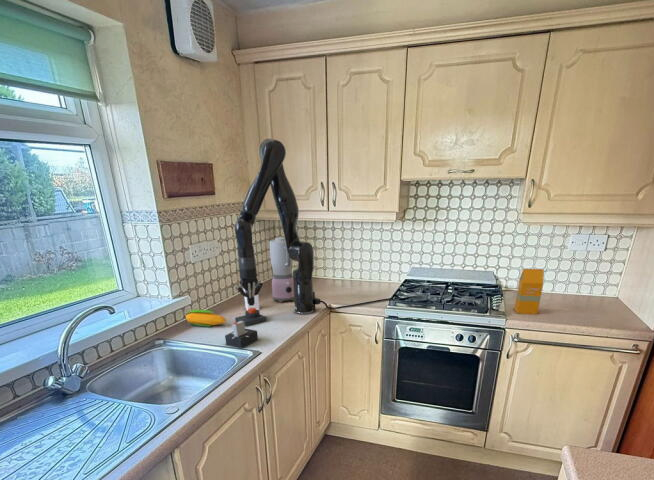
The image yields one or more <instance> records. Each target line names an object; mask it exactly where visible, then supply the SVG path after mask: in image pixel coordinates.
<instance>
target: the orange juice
mask: <svg viewBox="0 0 654 480" xmlns="http://www.w3.org/2000/svg"><path fill="white" fill-rule="evenodd" d="M543 287H544V269H543V268H523V269H522V272H521V274H520V277H519V280H518V286H517V291H516V297H515V303H514V308H513V309H514V310H515V312H516V314H525V315H538V312H539V306H540V302H541V297H542V291H543Z"/></svg>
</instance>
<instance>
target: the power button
mask: <svg viewBox="0 0 654 480" xmlns="http://www.w3.org/2000/svg"><path fill="white" fill-rule="evenodd" d="M248 313H256V308H249V309H248Z"/></svg>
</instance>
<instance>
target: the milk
mask: <svg viewBox="0 0 654 480" xmlns="http://www.w3.org/2000/svg"><path fill="white" fill-rule="evenodd" d="M242 288H243V287H242ZM242 290H243V291H244V292H245V289H244V288H243V289H242ZM245 293H246V292H245ZM243 298H244V305H245V307H244V308H245V309H246V311H248V309H249V308H256V310H259V311H260V310H261V308H260V299H259V294H258V295H255V297H254V301H255V304H254V305H252V306H250V305H249V304H248V301H247V297H244V296H243Z"/></svg>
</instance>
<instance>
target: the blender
mask: <svg viewBox="0 0 654 480" xmlns="http://www.w3.org/2000/svg"><path fill="white" fill-rule="evenodd" d="M269 257H270V264H271V268H272V272H273V273H272V274H273V277H272V279H271V290H272V299H273V300H274V301H278V303H280V304H283V301H291V302H294V286H293V264H294V263H293V261H294V260H292V259H291V258H290V257H289V255H288V252H287V247H286V242H285V236H283V237H280V236H279V237H275V238H274V239H271V240H270V241H269Z"/></svg>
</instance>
